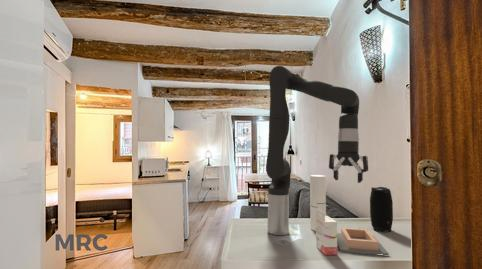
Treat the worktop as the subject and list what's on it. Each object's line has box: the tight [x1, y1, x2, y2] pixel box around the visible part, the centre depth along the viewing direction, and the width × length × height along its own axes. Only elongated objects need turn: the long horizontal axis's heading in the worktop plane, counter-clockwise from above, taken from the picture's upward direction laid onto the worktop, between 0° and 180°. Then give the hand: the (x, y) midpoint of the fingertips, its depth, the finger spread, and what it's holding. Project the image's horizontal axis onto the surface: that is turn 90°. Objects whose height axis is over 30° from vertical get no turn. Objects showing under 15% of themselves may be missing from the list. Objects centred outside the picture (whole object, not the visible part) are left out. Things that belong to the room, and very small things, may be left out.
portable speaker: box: [369, 186, 394, 233], centre depth 117 cm, size 9×9×20 cm
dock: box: [337, 227, 390, 256], centre depth 99 cm, size 16×18×4 cm
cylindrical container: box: [309, 174, 327, 232], centre depth 118 cm, size 7×7×25 cm
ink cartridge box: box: [315, 209, 338, 256], centre depth 93 cm, size 9×5×15 cm, turn 5°
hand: (347, 181), depth 98 cm, fingers open, 8 cm apart
